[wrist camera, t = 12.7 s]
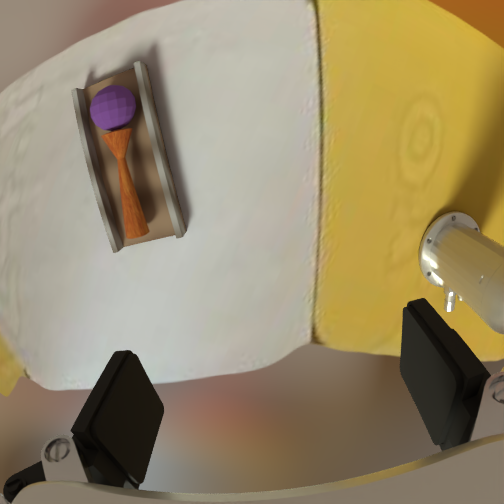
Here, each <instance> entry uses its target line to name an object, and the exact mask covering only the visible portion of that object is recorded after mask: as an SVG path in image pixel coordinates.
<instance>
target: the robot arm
mask: <svg viewBox="0 0 504 504" xmlns="http://www.w3.org/2000/svg"><path fill="white" fill-rule="evenodd" d="M419 265H420V269H421V271H422V273H423V275H424V277H425V278H426V279H427V280H428V281H429V282H430V283H431V284H433V285H435V286H438V287H443V288H444V293H445V294H446V296H445V302H444V310H445V311H449V312H450V311H453V310H454V308H455V295H456V294H457V295H458V300H460V301H464V302H465V303H466V304H467V305H468V306H469V307H471V308H472V309H473V310H474V311H475V312H476V313H477V314H478V315H479V316H480V317H481V319H482V320H483V321H484V322H485V323H486V324H487V325H488V326H489V327H490V328H491V329H493V330H494V331H496V332H498V333H500V334H504V246H502V245H501V244H499V243H497V242H496V241H494V240H492V239H490V238H489V237H487V236H485V235H483V234H482V233H480V230H479V227H478V225H477V223H476V222H475V220H474V219H473V218H471V217H470V216H468V215H467V214H464V213H462V212H456V211H454V212H448V213H446V214H443V215H442V216H440V217H438V218H437V219H436V220H435V221H434V222H433V223H432V224H431V225H430V226H429V228H428V229H427V231H426V232H425V234H424V236H423V239H422V241H421V245H420V249H419ZM400 372H401V375H402V378H403V380H404V381H405V384H406V385H407V388H408V390H409V392H410V393H411V396H412V398H413V400H414V402H415V404H416V406H417V408H418V410H419V413H420V414H421V417H422V419H423V421H424V423H425V425H426V428H427V430H428V432H429V434H430V437H431V439H432V441H433V443H434V444H435V445H440V447H441V450H442V452H439V453H437V454H434V455H431V456H428V457H425V458H422V459H419V460H416V461H414V462H410V463H407V464H404V465H400V466H397V467H393V468H390V469H387V470H383V471H379V472H376V473H372V474H368V475H364V476H360V477H356V478H351V479H347V480H342V481H337V482H332V483H326V484H320V485H314V486H308V487H301V488H294V489H286V490H278V491H266V492H253V493H234V494H233V493H232V494H190V493H170V492H156V491H146V490H138V488H139V485H140V484H141V483H143V481H144V479H145V475H146V472H147V468H148V465H149V461H150V458H151V454H152V451H153V447H154V444H155V440H156V437H157V434H158V431H159V427H160V424H161V421H162V417H163V414H164V406H163V403H162V402H161V400H160V398H159V396H158V394H157V393H156V391H155V389H154V387H153V385H152V383H151V382H150V380H149V378H148V376H147V374H146V372H145V370H144V368H143V366H142V364H141V362H140V360H139V358H138V356H137V355H136V354H133V353H132V352H131V351H130V350H125V351H116V352H114V354H113V355H112V357H111V359H110V360H109V362H108V364H107V365H106V367H105V369H104V371H103V372H102V374H101V376H100V378H99V379H98V381H97V383H96V385H95V386H94V388H93V390H92V392H91V394H90V395H89V397H88V399H87V401H86V403H85V405H84V406H83V408H82V410H81V412H80V414H79V416H78V417H77V419H76V421H75V423H74V425H73V427H72V429H71V432H72V433H73V434H74V435H73V437H72V438H71V437H69V436H67V435H58V436H55V437H53V438H51V439H49V440H48V441H47V442H46V443H45V445H44V446H43V448H42V451H41V459H42V461H40V462H38V463H36V464H34V465H32V466H30V467H28V468H26V469H24V470H22V471H20V472H18V473H16V474H14V475H12V476H11V477H10V478H9V479H8V480H7V481H6V483H5V485H4V489H3V493H4V495H2V494H1V493H0V504H504V368H503V369H502V370H501V372H498V373H495V374H494V375H492V376H491V375H490V374H489V372H488V371H487V370H486V368H485V367H484V366H483V364H482V363H481V362H480V361H479V359H478V358H477V357H476V355H475V354H474V353H473V352H472V350H471V349H470V348H469V347H468V345H467V344H466V343H465V342H464V341H463V339H462V338H461V337H460V336H459V334H458V333H457V332H456V331H455V330H454V329H451V328H450V327H449V326H448V325H447V323H446V322H445V321H444V320H443V319H442V318H441V316H440V315H439V314H438V313H437V312H436V311H435V309H434V308H433V307H432V306H431V305H430V304H429V302H428V301H427V300H426V299H425V298H421V299H417V300H413V301H410V302H408V304H407V307H404V308H403V323H402V343H401V358H400Z"/></svg>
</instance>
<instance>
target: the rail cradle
mask: <svg viewBox="0 0 504 504" xmlns="http://www.w3.org/2000/svg"><path fill="white" fill-rule="evenodd" d="M134 67H135V68H132V69H129V70H127V71H124V72H122V73H119V74H117V75H114V76H112V77H110V78H107V79H105V80H103V81H100V82H98V83H96V84H94V85H92V86H89V87H87V88H85V89H78V88H75V89H73V90H71V91H72V97H73V102H74V108H75V113H76V118H77V123H78V128H79V133H80V137H81V142H82V146H83V151H84V155H85V159H86V163H87V167H88V171H89V175H90V178H91V182H92V186H93V189H94V193H95V196H96V200H97V203H98V207H99V210H100V213H101V217H102V220H103V223H104V226H105V229H106V232H107V235H108V238H109V241H110V244H111V247H112V250H113V253H115V252H118V251H120V250H121V249H122V248H123V247H126V246H130V245H134V244H138V243H142V242H147V241H151V240H155V239H160V238H164V237H169V236H173V235H176V238H181V237H183V236H184V234H185V233H186V227H185V223H184V220H183V216H182V212H181V208H180V204H179V201H178V197H177V193H176V189H175V186H174V182H173V178H172V174H171V170H170V166H169V162H168V158H167V154H166V150H165V146H164V142H163V138H162V133H161V129H160V125H159V121H158V116H157V112H156V107H155V103H154V98H153V94H152V89H151V84H150V79H149V75H148V70H147V65H146V64H144V63H142V62H141V61H138V62H135V63H134ZM110 85H119V86H124V87H125V88H127V89H128V90H130V91H131V93H132V94H133V96H134V97H135V103H136V109H135V113H134V116H133V118H132V119H131V121H130V122H129V124H127V125H126V126H124V127H123V128H122V129H127V128H132V132H131V136H130V140H129V144H128V148H127V152H126V157H125V158H126V161H127V165H128V168H129V171H130V174H131V177H132V181H133V184H134V187H135V190H136V193H137V196H138V199H139V202H140V205H141V208H142V211H143V214H144V217H145V219H146V222H147V225H148V228H149V231H150V232H149V233H148V234H146V235H144V236H142V237H138V238H133V239H128V238H126V232H125V225H124V217H123V210H122V202H121V193H120V184H119V174H118V162H117V158H116V157H115V156H114V154H113V153H112V151H111V150H110V148H109V147H108V146H107V144H106V143H105V141H104V140H103V138H102V137H101V136H102V135H104V134H106V133H109V132H111V131H107V130H103V129H101V128H100V127H98V126H96V124H95V123H94V121H93V120H92V118H91V113H90V106H91V102H92V99H93V98H94V97H95V95H96V94H97V93H98V92H99V91H100V90H102V89H103V88H105V87H107V86H110Z"/></svg>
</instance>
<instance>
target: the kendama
mask: <svg viewBox="0 0 504 504" xmlns="http://www.w3.org/2000/svg"><path fill="white" fill-rule="evenodd" d="M135 109H136V103H135V97H134V96H133V94H132V93H131V91H130V90H128V89H127V88H125V87H124V86H119V85H110V86H107V87H105V88H103V89H102V90H100V91H99V92H98V93H97V94H96V95H95V97H94V98H93V99H92V102H91V106H90V113H91V118H92V120H93V121H94V123H95V124H96V126H98V127H100V128H101V129H103V130H107V131H111V132H109V133H106V134H104V135H102V136H101V137H102V138H103V140H104V141H105V143H106V144H107V146H108V147H109V148H110V150H111V151H112V153H113V154H114V156H115V157H116V158H117V162H118V174H119V184H120V193H121V202H122V210H123V217H124V225H125V232H126V238H128V239H133V238H138V237H142V236H144V235H146V234H148V233H149V232H150V231H149V228H148V225H147V222H146V219H145V217H144V214H143V211H142V208H141V205H140V202H139V199H138V196H137V193H136V190H135V187H134V184H133V181H132V177H131V174H130V171H129V168H128V165H127V161H126V158H125V157H126V152H127V148H128V144H129V140H130V136H131V132H132V128H127V129H122V128H123V127H124V126H126V125H127V124H129V122H130V121H131V119H132V118H133V116H134V113H135Z"/></svg>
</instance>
